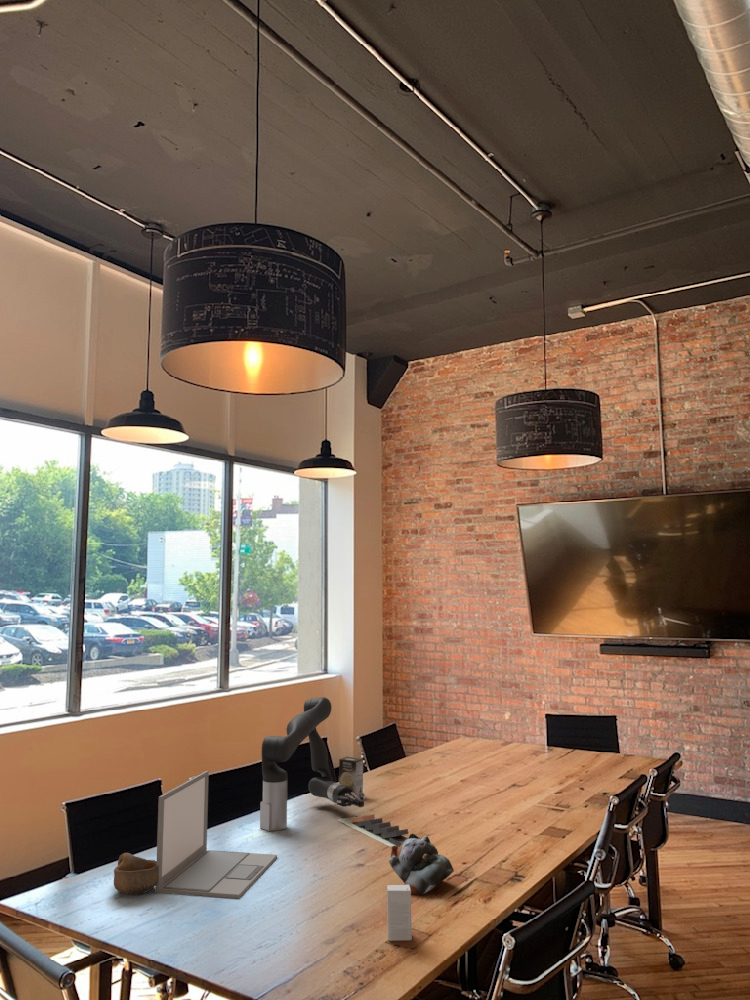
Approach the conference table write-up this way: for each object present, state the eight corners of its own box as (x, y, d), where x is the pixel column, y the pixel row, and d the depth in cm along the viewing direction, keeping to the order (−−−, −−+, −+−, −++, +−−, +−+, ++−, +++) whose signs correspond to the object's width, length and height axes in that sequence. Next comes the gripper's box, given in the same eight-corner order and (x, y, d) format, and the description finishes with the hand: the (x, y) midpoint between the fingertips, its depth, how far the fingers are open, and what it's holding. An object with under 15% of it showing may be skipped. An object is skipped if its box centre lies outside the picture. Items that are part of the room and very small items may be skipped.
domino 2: (357, 821, 284) (370, 820, 276) (368, 819, 286) (382, 818, 279) (358, 826, 283) (371, 824, 276) (369, 824, 286) (382, 822, 278)
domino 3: (364, 825, 279) (378, 823, 271) (376, 823, 282) (390, 821, 274) (365, 830, 278) (379, 828, 271) (377, 828, 281) (390, 826, 273)
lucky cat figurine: (416, 900, 214) (392, 845, 220) (399, 903, 225) (377, 851, 230) (462, 872, 223) (438, 820, 228) (443, 877, 233) (421, 827, 239)
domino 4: (372, 829, 274) (386, 827, 267) (384, 827, 277) (398, 825, 269) (373, 834, 274) (387, 832, 266) (385, 831, 276) (399, 830, 269)
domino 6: (389, 837, 265) (405, 845, 257) (401, 835, 268) (417, 842, 259) (389, 842, 265) (405, 850, 256) (401, 839, 267) (417, 847, 259)
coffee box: (338, 797, 327) (338, 758, 329) (346, 793, 333) (346, 756, 335) (355, 799, 322) (355, 761, 324) (363, 796, 328) (363, 758, 330)
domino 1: (350, 818, 288) (362, 816, 281) (361, 816, 291) (374, 814, 283) (350, 822, 288) (363, 820, 280) (362, 820, 290) (374, 818, 283)
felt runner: (336, 820, 292) (336, 819, 292) (359, 816, 297) (359, 815, 297) (389, 847, 260) (389, 846, 260) (413, 842, 265) (413, 841, 265)
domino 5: (381, 833, 269) (395, 831, 262) (393, 831, 272) (407, 828, 264) (382, 838, 269) (396, 836, 261) (393, 836, 271) (408, 833, 264)
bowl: (89, 886, 222) (99, 849, 225) (128, 886, 232) (136, 851, 235) (126, 900, 211) (136, 861, 215) (165, 899, 221) (173, 862, 225)
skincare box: (410, 933, 193) (410, 884, 195) (411, 941, 189) (411, 890, 190) (386, 933, 193) (386, 884, 195) (387, 941, 189) (387, 890, 190)
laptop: (239, 899, 216) (241, 800, 220) (154, 893, 221) (157, 796, 224) (277, 858, 250) (278, 773, 254) (203, 854, 255) (205, 770, 258)
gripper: (325, 786, 298) (347, 796, 283) (354, 782, 305) (376, 791, 290) (325, 806, 297) (347, 817, 282) (354, 801, 304) (377, 812, 289)
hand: (362, 804), depth 286 cm, fingers closed
